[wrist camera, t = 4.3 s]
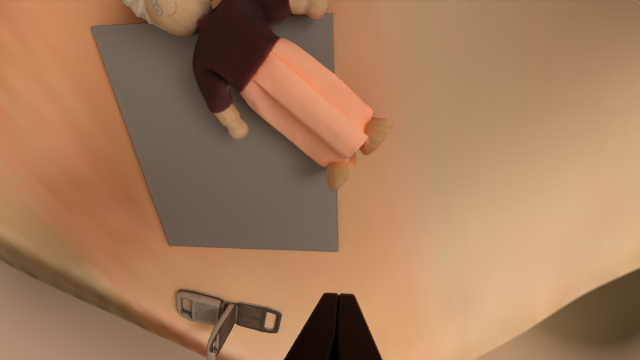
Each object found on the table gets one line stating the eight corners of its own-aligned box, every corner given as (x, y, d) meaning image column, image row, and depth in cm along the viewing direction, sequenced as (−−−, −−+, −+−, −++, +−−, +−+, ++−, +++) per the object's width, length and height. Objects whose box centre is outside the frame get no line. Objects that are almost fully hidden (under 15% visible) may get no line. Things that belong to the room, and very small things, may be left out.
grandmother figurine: (324, 220, 14) (49, 36, 11) (317, 191, 18) (108, 46, 15) (436, 84, 13) (155, -176, 10) (404, 82, 16) (193, -108, 13)
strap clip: (181, 307, 26) (152, 356, 23) (180, 283, 25) (148, 331, 21) (278, 329, 26) (265, 382, 23) (283, 306, 25) (270, 359, 21)
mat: (332, 13, 14) (332, 13, 14) (338, 248, 21) (338, 252, 21) (94, 26, 16) (90, 26, 15) (171, 243, 22) (169, 245, 22)
